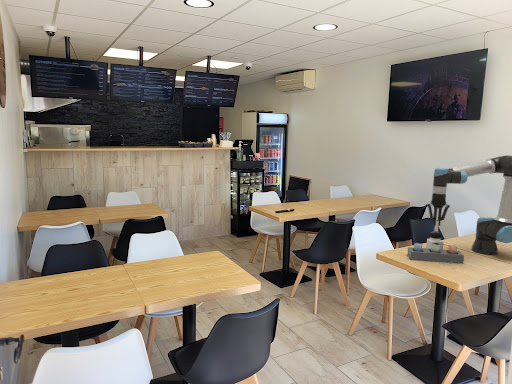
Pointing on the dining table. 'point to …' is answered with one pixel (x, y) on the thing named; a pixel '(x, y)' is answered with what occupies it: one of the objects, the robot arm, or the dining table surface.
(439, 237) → the container
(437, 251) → the sage button
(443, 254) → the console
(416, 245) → the slate button
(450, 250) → the terracotta button
